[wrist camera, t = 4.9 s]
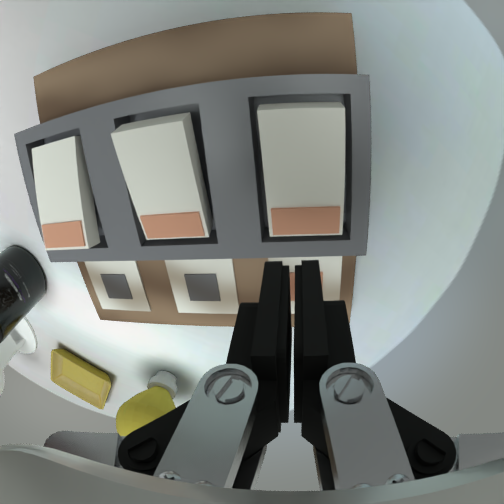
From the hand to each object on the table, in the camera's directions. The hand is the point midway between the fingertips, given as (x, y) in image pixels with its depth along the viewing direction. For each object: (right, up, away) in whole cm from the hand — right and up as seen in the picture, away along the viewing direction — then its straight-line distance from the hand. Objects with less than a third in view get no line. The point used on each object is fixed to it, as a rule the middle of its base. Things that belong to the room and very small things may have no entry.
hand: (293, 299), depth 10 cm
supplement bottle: (-26, 0, +19) cm, 32 cm away
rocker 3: (+1, +6, +6) cm, 8 cm away
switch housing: (-6, +7, +9) cm, 13 cm away
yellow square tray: (-24, -14, +27) cm, 38 cm away
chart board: (-5, +6, +12) cm, 15 cm away
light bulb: (-11, -12, +23) cm, 29 cm away
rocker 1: (-14, +5, +8) cm, 16 cm away
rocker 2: (-6, +5, +7) cm, 11 cm away
